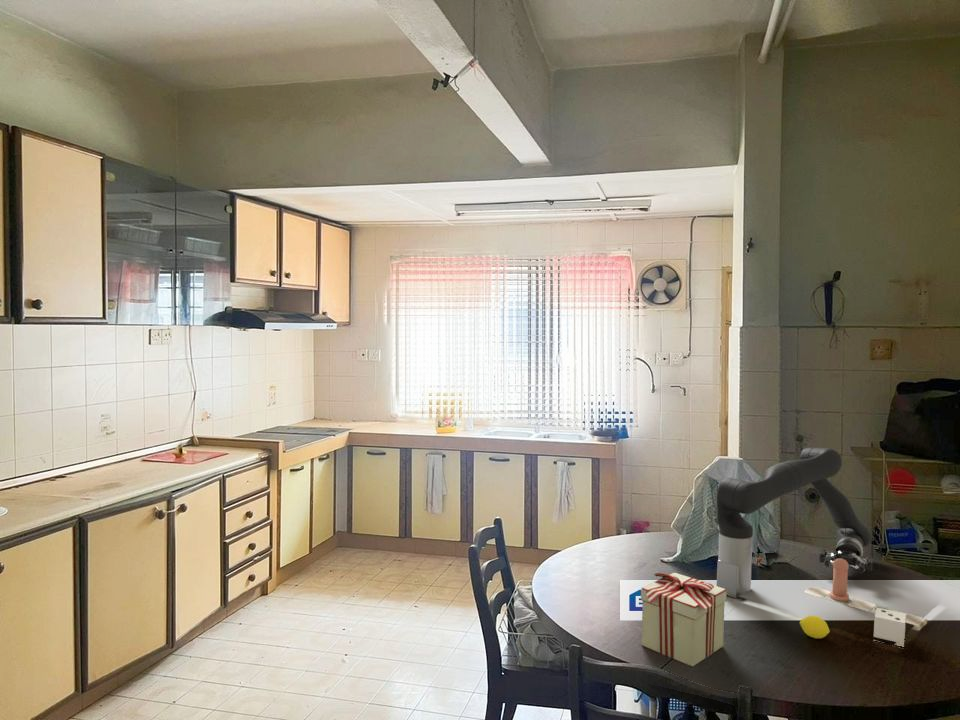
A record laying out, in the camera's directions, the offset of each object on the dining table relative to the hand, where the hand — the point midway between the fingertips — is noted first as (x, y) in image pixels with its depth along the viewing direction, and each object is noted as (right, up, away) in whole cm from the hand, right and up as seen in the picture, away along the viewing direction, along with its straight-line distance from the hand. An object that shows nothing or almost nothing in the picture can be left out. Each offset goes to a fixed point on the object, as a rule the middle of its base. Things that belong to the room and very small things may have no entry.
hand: (843, 567), depth 212 cm
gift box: (-58, -10, -37) cm, 70 cm away
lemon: (-23, -9, -30) cm, 38 cm away
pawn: (-5, -6, -8) cm, 12 cm away
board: (-1, -8, -13) cm, 15 cm away
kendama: (-13, -5, +28) cm, 31 cm away
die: (-4, -9, -31) cm, 33 cm away
